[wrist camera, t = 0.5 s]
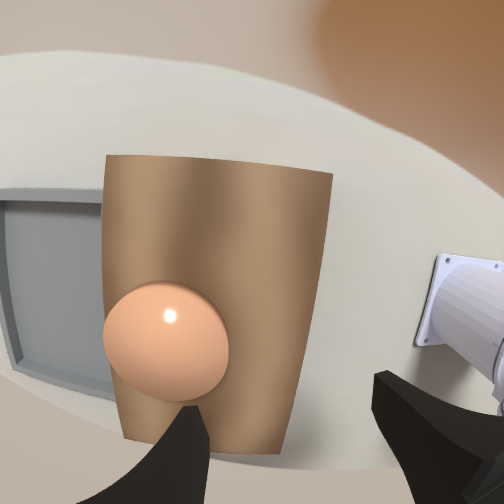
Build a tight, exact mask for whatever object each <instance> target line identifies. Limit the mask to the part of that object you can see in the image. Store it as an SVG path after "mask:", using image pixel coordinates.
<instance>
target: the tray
mask: <svg viewBox="0 0 504 504" xmlns="http://www.w3.org/2000/svg"><path fill="white" fill-rule="evenodd" d="M102 206H103V189H69V188H9V189H0V323H1V327H2V332H3V336H4V340H5V344H6V348H7V351H8V355H9V358H10V362H11V365H12V368H13V370H15V371H18V372H20V373H23V374H25V375H28V376H31V377H34V378H36V379H39V380H42V381H45V382H48V383H51V384H54V385H57V386H60V387H64V388H67V389H70V390H74V391H77V392H81V393H84V394H88V395H92V396H96V397H100V398H104V399H108V400H112V401H116V398H115V393H114V387H113V381H112V375H111V368H110V362H109V360H108V357H107V355H106V352H105V349H104V343H103V329H104V324H105V317H104V304H103V286H102Z"/></svg>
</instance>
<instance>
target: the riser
mask: <svg viewBox="0 0 504 504" xmlns="http://www.w3.org/2000/svg"><path fill="white" fill-rule="evenodd" d="M332 179H333V174H332V173H325V172H319V171H313V170H306V169H299V168H292V167H284V166H277V165H268V164H260V163H250V162H241V161H230V160H219V159H206V158H191V157H173V156H147V155H106V165H105V176H104V189H103V206H102V286H103V304H104V317H105V321H106V319H107V316H108V314H109V313H110V311H111V310H112V308H113V307H114V306H115V305H116V304H117V303H118V302H119V301H120V300H121V299H122V298H123V297H124V296H125V295H126V294H127V293H128V292H129V291H130V290H132V289H133V288H135V287H137V286H139V285H141V284H144V283H147V282H152V281H172V282H177V283H181V284H184V285H187V286H189V287H191V288H194V289H195V290H197V291H199V292H200V293H202V294H203V295H204V296H206V297H207V298H208V299H209V300H210V301H211V302H212V303H213V304H214V305H215V306H216V307H217V309H218V310H219V311H220V313H221V315H222V316H223V318H224V321H225V323H226V326H227V329H228V335H229V355H228V364H227V368H226V371H225V374H224V375H223V377H222V379H221V380H220V382H219V383H218V384H217V385H216V386H215V387H214V388H213V389H212V390H211V391H209V392H208V393H206V394H204V395H202V396H200V397H197V398H195V399H191V400H186V401H165V400H160V399H156V398H153V397H150V396H148V395H145V394H143V393H141V392H139V391H137V390H136V389H134V388H133V387H131V386H130V385H129V384H127V383H126V382H125V381H124V380H123V379H122V378H121V377H120V376H119V375H118V374H117V372H116V371H115V370H114V368H113V367H112V365H111V364H110V368H111V375H112V381H113V387H114V393H115V398H116V403H117V408H118V413H119V418H120V422H121V427H122V431H123V435H124V438H125V439H129V440H134V441H139V442H144V443H149V444H156V443H157V442H158V440H159V439H160V438H161V436H162V435H163V434H164V432H165V431H166V430H167V428H168V427H169V426H170V424H171V423H172V421H173V420H174V418H175V417H176V415H177V414H178V412H179V411H180V410H181V408H182V407H183V406H194V405H198V408H199V411H200V413H201V416H202V419H203V422H204V424H205V427H206V430H207V432H208V435H209V437H210V452H219V453H235V454H280V451H281V448H282V444H283V440H284V437H285V433H286V429H287V426H288V422H289V418H290V414H291V410H292V406H293V402H294V398H295V394H296V390H297V385H298V381H299V377H300V372H301V368H302V363H303V359H304V354H305V349H306V344H307V340H308V335H309V330H310V325H311V319H312V314H313V309H314V303H315V298H316V292H317V286H318V280H319V274H320V268H321V262H322V256H323V249H324V242H325V235H326V228H327V221H328V213H329V205H330V197H331V188H332Z"/></svg>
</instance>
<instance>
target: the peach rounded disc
mask: <svg viewBox="0 0 504 504" xmlns="http://www.w3.org/2000/svg"><path fill="white" fill-rule="evenodd" d="M103 343H104V349H105V352H106V355H107V357H108V360H109V362H110V364H111V365H112V367H113V368H114V370H115V371H116V372H117V374H118V375H119V376H120V377H121V378H122V379H123V380H124V381H125V382H126V383H127V384H129V385H130V386H131V387H133V388H134V389H136V390H137V391H139V392H141V393H143V394H145V395H148V396H150V397H153V398H156V399H160V400H165V401H186V400H191V399H195V398H197V397H200V396H202V395H204V394H206V393H208V392H209V391H211V390H212V389H213V388H214V387H215V386H216V385H217V384H218V383H219V382H220V380H221V379H222V377H223V375H224V374H225V371H226V368H227V364H228V355H229V335H228V329H227V326H226V323H225V321H224V318H223V316H222V315H221V313H220V311H219V310H218V309H217V307H216V306H215V305H214V304H213V303H212V302H211V301H210V300H209V299H208V298H207V297H206V296H204V295H203V294H202V293H200V292H199V291H197V290H195V289H194V288H191V287H189V286H187V285H184V284H181V283H177V282H172V281H152V282H147V283H144V284H141V285H139V286H137V287H135V288H133V289H132V290H130V291H129V292H128V293H127V294H126V295H125V296H124V297H123V298H122V299H121V300H120V301H119V302H118V303H117V304H116V305H115V306H114V307H113V308H112V310H111V311H110V313H109V314H108V316H107V319H106V321H105V324H104V329H103Z"/></svg>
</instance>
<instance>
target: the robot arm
mask: <svg viewBox="0 0 504 504" xmlns="http://www.w3.org/2000/svg"><path fill="white" fill-rule="evenodd" d="M446 259H447V262H446ZM503 270H504V263H503V262H501V261H495V260H488V259H481V258H474V257H466V256H459V255H451V254H444V253H441V254H439V255H438V257H437V261H436V266H435V270H434V275H433V279H432V283H431V288H430V292H429V296H428V299H427V303H426V307H425V311H424V314H423V318H422V321H421V324H420V328H419V331H418V334H417V337H416V341H415V342H416V344H417V345H418V346H429V345H440V344H448V345H449V346H450V347H451V348H452V349H454V350H455V351H456V352H457V353H458V354H460V355H461V356H462V357H463V358H464V359H466V360H467V361H468V362H469V363H470V364H471V365H473V366H474V367H475V368H476V369H477V370H478V371H479V372H481V373H482V374H483V375H484V376H485V377H486V378H488V379H489V380H490V381H491V382H492V383H493V384H494V385H495V387H494V390H493V393H492V396H493V397H495V398H496V399H497V400H498V401H499V402H500V404H499V406H498V410H497V416H495V415H488V414H483V413H478V412H474V411H470V410H466V409H463V408H460V407H457V406H454V405H452V404H449V403H447V402H444V401H442V400H440V399H438V398H436V397H433V396H431V395H429V394H428V393H426V392H424V391H422V390H420V389H418V388H417V387H415V386H413V385H411V384H410V383H408V382H406V381H405V380H403V379H402V378H400V377H398V376H397V375H395V374H393V373H392V372H390V371H388V370H386V371H383V372H379V373H376V374H374V384H373V396H372V406H371V409H372V412H373V415H374V417H375V420H376V422H377V425H378V427H379V429H380V431H381V432H382V434H383V436H384V438H385V439H386V441H387V443H388V445H389V446H390V448H391V450H392V451H393V453H394V455H395V457H396V458H397V460H398V462H399V464H400V466H401V468H402V470H403V472H404V475H405V477H406V480H407V482H408V485H409V487H410V490H411V493H412V495H413V499H414V502H415V504H504V274H503ZM425 339H426V340H425ZM424 340H425V341H424ZM209 459H210V437H209V435H208V432H207V430H206V427H205V424H204V422H203V419H202V416H201V413H200V411H199V408H198V405H194V406H183V407H182V408H181V410H180V411H179V412H178V414H177V415H176V417H175V418H174V420H173V421H172V423H171V424H170V426H169V427H168V428H167V430H166V431H165V432H164V434H163V435H162V436H161V438H160V439H159V440H158V442H157V443H156V444H155V445H154V447H153V448H152V449H151V450H150V451H149V452H148V454H147V455H146V456H145V457H144V458H143V459H142V460H141V461H140V462H139V463H138V464H137V465H136V466H135V467H134V468H133V469H132V470H130V471H129V472H128V473H127V474H126V475H124V476H123V477H122V478H120V479H119V480H118V481H117V482H115V483H114V484H113V485H111V486H109V487H108V488H107V489H105V490H103V491H101V492H99V493H98V494H96V495H94V496H92V497H90V498H88V499H86V500H84V501H81V502H79V503H77V504H204V495H205V489H206V482H207V474H208V467H209Z"/></svg>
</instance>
